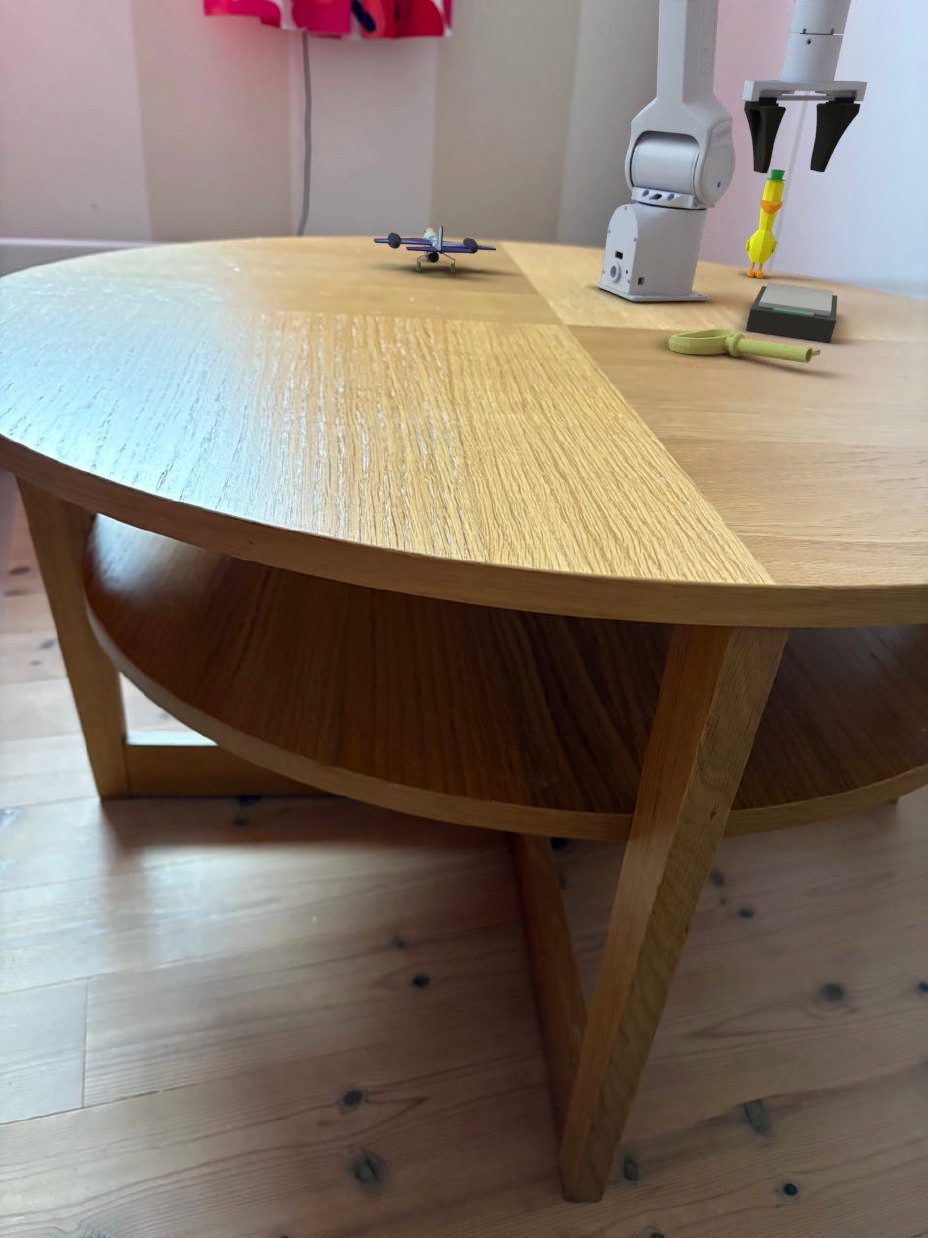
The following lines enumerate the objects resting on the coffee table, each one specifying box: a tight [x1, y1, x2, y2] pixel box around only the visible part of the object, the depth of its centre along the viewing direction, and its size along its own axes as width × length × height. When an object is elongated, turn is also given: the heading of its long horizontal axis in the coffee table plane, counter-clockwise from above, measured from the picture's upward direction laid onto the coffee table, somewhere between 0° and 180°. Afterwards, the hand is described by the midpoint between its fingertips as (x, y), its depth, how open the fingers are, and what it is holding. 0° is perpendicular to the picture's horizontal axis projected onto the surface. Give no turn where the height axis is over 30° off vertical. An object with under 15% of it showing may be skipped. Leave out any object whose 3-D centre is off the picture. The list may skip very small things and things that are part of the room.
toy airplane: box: [373, 224, 497, 274], centre depth 100 cm, size 13×14×4 cm
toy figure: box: [745, 168, 786, 279], centre depth 108 cm, size 7×4×12 cm, turn 165°
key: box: [667, 327, 822, 364], centre depth 74 cm, size 7×12×2 cm, turn 61°
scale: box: [745, 281, 838, 343], centre depth 87 cm, size 14×8×2 cm, turn 159°
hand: (788, 171), depth 105 cm, fingers open, 7 cm apart
